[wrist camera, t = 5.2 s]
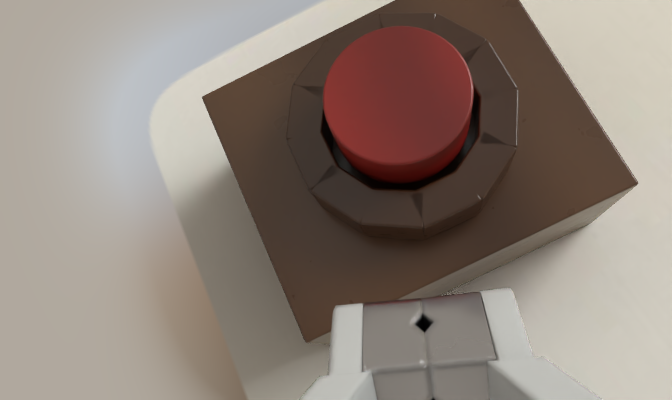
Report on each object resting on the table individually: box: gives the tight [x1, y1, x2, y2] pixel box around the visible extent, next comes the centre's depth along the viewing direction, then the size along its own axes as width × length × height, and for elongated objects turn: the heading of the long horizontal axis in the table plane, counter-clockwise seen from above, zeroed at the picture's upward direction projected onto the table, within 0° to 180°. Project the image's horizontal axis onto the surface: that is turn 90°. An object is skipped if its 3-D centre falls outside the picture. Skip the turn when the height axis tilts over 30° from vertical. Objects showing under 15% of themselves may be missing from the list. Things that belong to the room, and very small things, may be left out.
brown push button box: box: [202, 0, 638, 345], centre depth 23 cm, size 12×10×8 cm
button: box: [323, 26, 474, 184], centre depth 18 cm, size 4×4×2 cm
